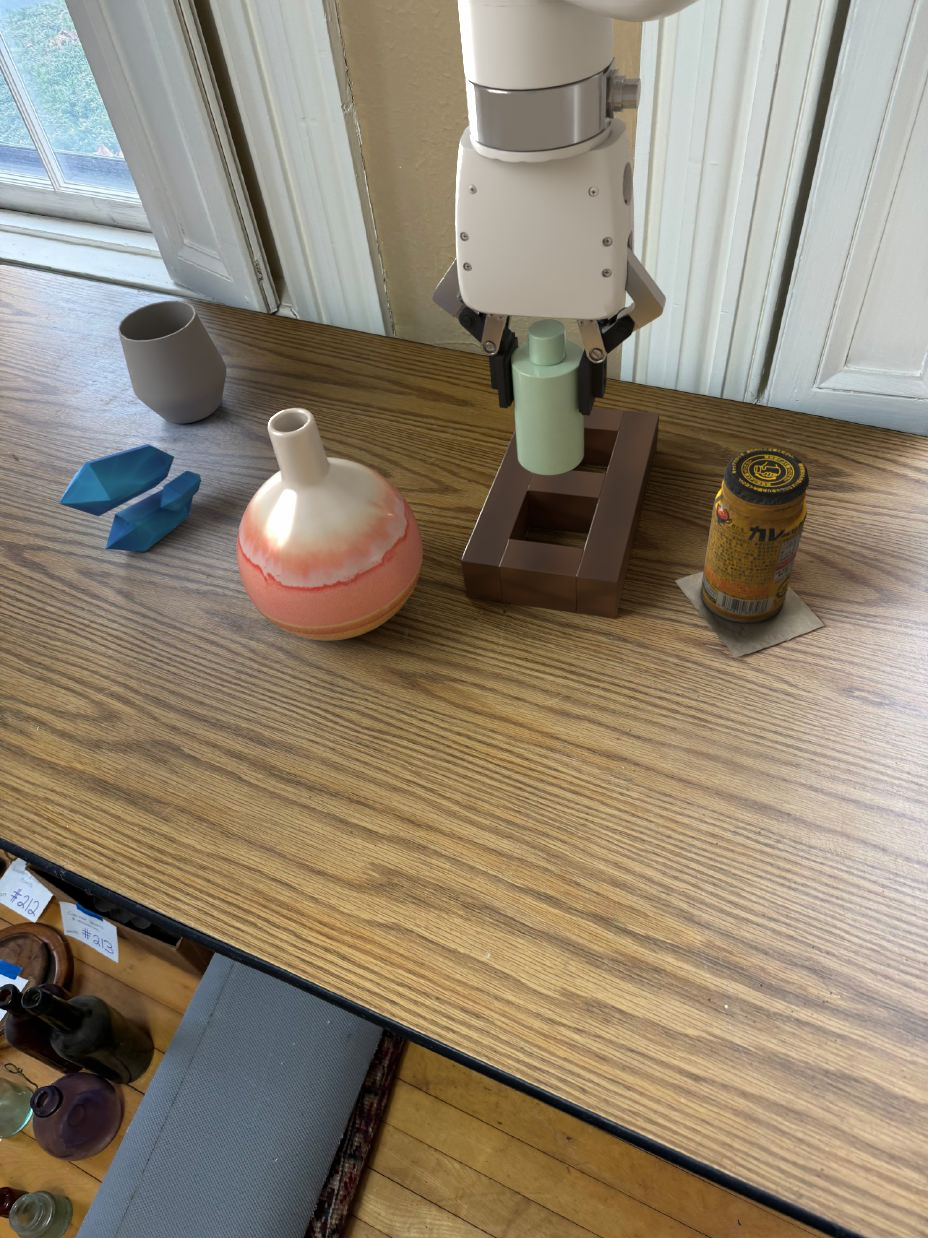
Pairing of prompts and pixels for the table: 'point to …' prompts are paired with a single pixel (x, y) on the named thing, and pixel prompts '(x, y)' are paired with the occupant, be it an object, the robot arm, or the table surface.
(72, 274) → the table surface
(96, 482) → the blue crystals
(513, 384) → the bottle
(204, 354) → the cup
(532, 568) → the peg block
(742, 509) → the condiment
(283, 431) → the vase
